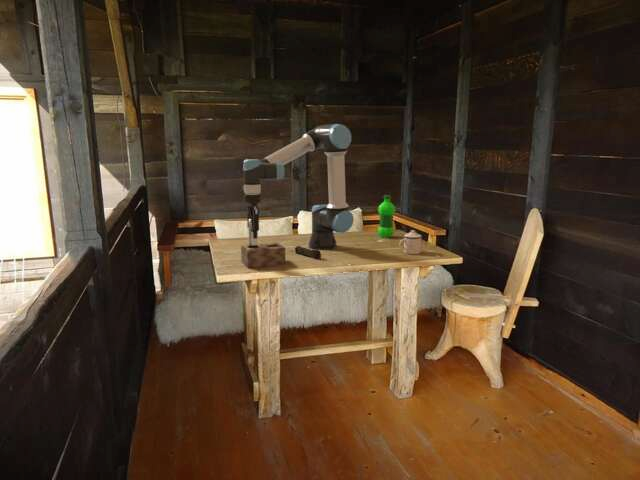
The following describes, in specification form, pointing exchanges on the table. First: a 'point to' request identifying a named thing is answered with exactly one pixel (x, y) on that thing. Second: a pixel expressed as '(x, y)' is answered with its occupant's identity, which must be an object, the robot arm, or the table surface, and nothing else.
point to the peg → (251, 236)
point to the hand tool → (308, 252)
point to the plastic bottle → (386, 217)
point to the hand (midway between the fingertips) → (253, 243)
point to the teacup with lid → (411, 243)
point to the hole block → (263, 255)
